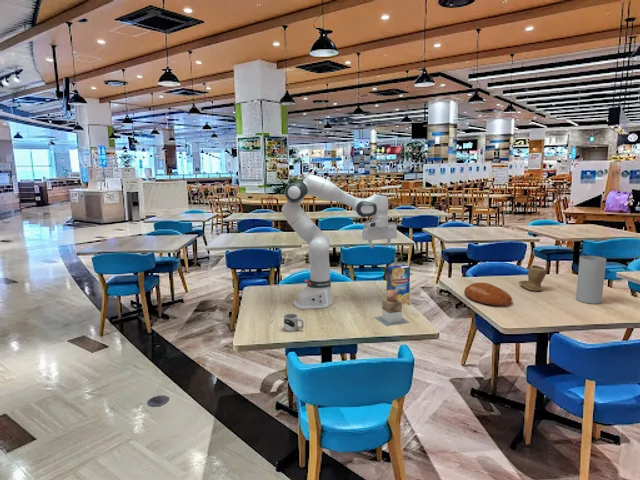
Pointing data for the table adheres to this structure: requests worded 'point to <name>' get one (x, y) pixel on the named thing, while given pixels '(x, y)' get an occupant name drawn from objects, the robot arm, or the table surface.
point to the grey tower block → (391, 316)
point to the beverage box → (399, 281)
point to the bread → (487, 294)
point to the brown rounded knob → (392, 295)
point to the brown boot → (534, 278)
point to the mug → (292, 322)
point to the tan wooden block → (391, 306)
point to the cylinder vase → (590, 279)
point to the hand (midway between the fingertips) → (379, 247)
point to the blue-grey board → (391, 323)
